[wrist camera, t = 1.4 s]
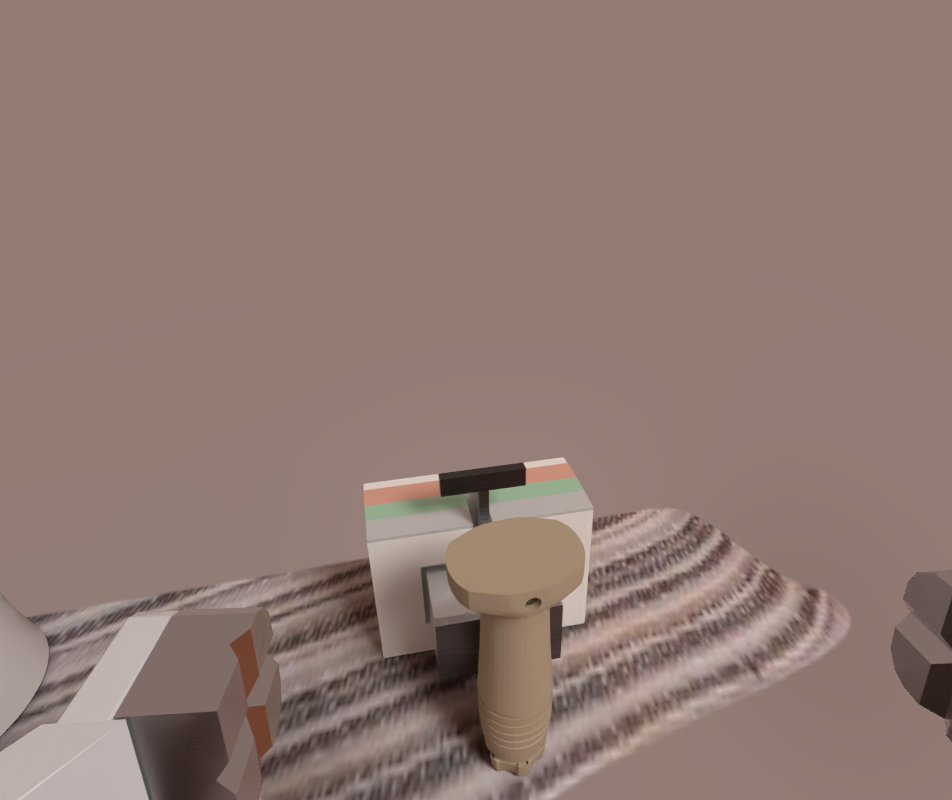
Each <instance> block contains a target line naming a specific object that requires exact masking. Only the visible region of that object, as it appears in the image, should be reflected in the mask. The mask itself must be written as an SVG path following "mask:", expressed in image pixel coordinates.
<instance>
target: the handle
mask: <svg viewBox="0 0 952 800" xmlns="http://www.w3.org/2000/svg"><path fill="white" fill-rule="evenodd" d="M445 560H446V573H447V579H448V583H449V587H450V589H451V591H452V593H453V595H454V597H455V598H456V599H457V601H458V602H459V603H461V604H462V605H463V606H464V607H466V608H467V609H469V610H472V611H476V612H481V616H480V646H479V663H478V681H477V685H478V686H477V687H478V708H479V715H480V720H481V726H482V730H483V734H484V738H485V743H486V746H487V749H488V750H489V751H490V753H491V754H490V757H491V762H492V765H493V767H494V768H495V769H496V770H498V771H501V770H506V771H511V772H513V773H515V774H517V776H524V775H527V774H528V773H529V772H530V768H531V766H532V764H533V763H534V762H535V761H536V760H538V759H540V758H541V757H542V756H543V753H544V748H545V743H546V740H545V738H546V735H547V731H548V726H549V721H550V715H551V708H552V688H553V681H552V662H551V643H550V608H551V607H553V606H554V605H556V604H557V603H559V602H560V601H561V600H563V599H564V598H565V597H567V596H568V595H569V594H570V593H572V592H573V591H574V590H575V589H576V588H577V587H578V586H579V585H580V584H581V583H582V580H583V576H584V569H585V549H584V546H583V544H582V542H581V540H580V538H579V537H578V536H577V534H576V533H575V532H574V531H573V530H572V529H571V528H570V527H569V526H567V525H565V524H564V523H562V522H560V521H558V520H555V519H544V518H533V517H516V518H509V519H504V520H499V521H494V522H490V523H486V524H482V525H479V526H477V527H475V528H473V529H471V530H469V531H468V532H466V533H464V534H462V535H461V536H459V537H458V538H456V539H454V540H453V541H451V542H450V543H449V545H448V547H447V550H446V559H445Z"/></svg>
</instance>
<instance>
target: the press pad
mask: <svg viewBox="0 0 952 800" xmlns="http://www.w3.org/2000/svg"><path fill="white" fill-rule="evenodd" d="M438 477H439V491H440V495H441V497H446V496H453V495H460V494H467V493H474V492H477V508H478V526H479V525H482V524H486V523H490V517H489V490H496V489H503V488H510V487H518V486H525V485H526V467H525V465H524V463H517V464H509V465H502V466H494V467H488V468H480V469H472V470H464V471H457V472H449V473H442V474H438ZM426 580H427V591H428V602H429V614H430V622H431V628H432V635H433V641H434V647H435V653H436V659H437V665H438V672H439V678H440V680H441V679H447V678H452V677H457V676H463V675H468V674H474V673H478V663H479V646H480V616H481V612H476V611H472V610H469V609H467V608H466V607H464V606H463V605H462V604H461V603H459V602H458V601H457V599H456V598H455V597H454V595H453V593H452V591H451V589H450V587H449V583H448V579H447V573H446V566H441V567H435V568H428V569H426ZM562 617H563V604H562V602H561V601H560V602H559V603H557V604H556V605H554V606H553V607H551V608H550V643H551V659H555V658H560V654H561V635H562Z"/></svg>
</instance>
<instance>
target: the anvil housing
mask: <svg viewBox="0 0 952 800" xmlns="http://www.w3.org/2000/svg"><path fill="white" fill-rule="evenodd" d="M524 465H525V467H526V485H525V486H518V487H510V488H503V489H496V490H489V517H490V522H494V521H499V520H504V519H509V518H516V517H533V518H544V519H555V520H558V521H560V522H562V523H564V524H565V525H567V526H569V527H570V528H571V529H572V530H573V531H574V532H575V533H576V534H577V536H578V537H579V538H580V540H581V542H582V544H583V546H584V549H585V569H584V576H583V580H582V583H581V584H580V585H579V586H578V587H577V588H576V589H575V590H574V591H573V592H572V593H570V594H569V595H568V596H567V597H565V598H564V599H563V600H561V602H562V604H563V617H562V627H565V626H570V625H576V624H582V623H584V621H585V609H586V596H587V583H588V570H589V558H590V545H591V532H592V519H593V506H592V504H591V502H590V501H589V499H588V497H587V495H586V493H585V492H584V490H583V488H582V487H581V485H580V483H579V481H578V479H577V478H576V476H575V474H574V472H573V471H572V469H571V467H570V465H569V464H568V463H566V461H565V459H564V457H562V458H555V459H548V460H540V461H533V462H525V463H524ZM364 503H365V521H366V537H367V547H368V554H369V561H370V568H371V574H372V581H373V588H374V595H375V602H376V609H377V616H378V623H379V630H380V637H381V643H382V650H383V657H384V658H389V657H394V656H400V655H406V654H411V653H417V652H423V651H428V650H434V649H435V647H434V641H433V635H432V628H431V622H430V614H429V602H428V591H427V580H426V569H428V568H435V567H441V566H446V560H445V559H446V550H447V547H448V545H449V543H450V542H451V541H453V540H454V539H456V538H458V537H459V536H461V535H462V534H464V533H466V532H468V531H469V530H471V529H473V528H475V527H477V526H478V508H477V492H474V493H467V494H460V495H453V496H446V497H441V495H440V491H439V477H438V474H435V475H428V476H420V477H412V478H405V479H397V480H390V481H382V482H375V483H367V484H364Z"/></svg>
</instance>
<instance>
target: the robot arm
mask: <svg viewBox="0 0 952 800" xmlns="http://www.w3.org/2000/svg"><path fill="white" fill-rule="evenodd" d="M903 600H904V602H905V603H906V605H907V607H908V609H909V610H910V613H909V614H908V615H907V616H906V617H905V618H904V619H903V620H902V621H901V622H900V623H899V624H898V625H897V626H896V627H895V631H894V635H893V639H892V644H891V653H892V658H893V662H894V667H895V671H896V673H897V675H898V677H899V678H900V680H901V682H902V684H903V686H904V687H905V689H906V690H907V691H908V692H909V693H910V695H911V696H912V697H913V698H914V699H915V700H916V702H918V704H920V705H921V706H923V707H924V708H926V709H928V710H930V711H931V712H933V713H935V714H937V715H938V716H940V717H942V718H944V719H945V726H946V736H947V737H948V738H949V739H950V740H951V741H952V570H945V571H929V572H917V573H916V574H915V575H914V576H913V577H912V578H911V579H910V580H909V581H908V583H907V587H906V590H905V594H904V597H903ZM272 636H273V632H272V627H271V622H270V617H269V613H268V612H267V611H266V610H265V609H264V608H263V607H257V608H225V609H194V610H180V611H152V612H138V613H136V614H135V615H133V616H131V617H129V618H128V619H127V620H126V621H125V623H124V624H123V626H122V627H121V629H120V630H119V632H118V633H117V635H116V636H115V638H114V639H113V641H112V642H111V644H110V645H109V646H108V648H107V649H106V651H105V652H104V654H103V655H102V657H101V658H100V660H99V661H98V663H97V664H96V666H95V667H94V669H93V670H92V671H91V673H90V674H89V676H88V677H87V679H86V680H85V682H84V683H83V685H82V686H81V688H80V689H79V691H78V692H77V694H76V695H75V696H74V698H73V699H72V701H71V702H70V704H69V705H68V707H67V708H66V710H65V711H64V713H63V714H62V716H61V717H60V719H59V720H58V721H57V723H55V724H41V725H40V726H38V727H37V728H35V729H34V730H32V731H31V732H29V733H28V734H26V735H25V736H23V737H22V738H21V739H19V740H18V741H16V742H15V743H13V744H12V745H10V746H9V747H7V748H6V749H4V750H3V751H1V752H0V800H257V799H258V796H259V792H260V789H261V785H262V776H261V771H260V766H259V759H260V758H261V757H262V756H263V755H264V754H265V753H266V752H267V751H268V750H269V749H270V748H271V747H272V746H273V742H274V738H275V734H276V731H277V727H278V721H279V712H280V703H281V682H280V673H279V667H278V663H277V662H276V661H275V660H274V659H273V658H272V657H270V656H269V655H268V654H267V651H268V648H269V645H270V642H271V639H272ZM48 659H49V646H48V642H47V639H46V637H45V635H44V633H43V632H42V631H41V629H40V628H39V627H37V626H36V625H35V624H34V623H32V622H31V621H30V620H28V619H27V618H26V617H25V616H24V615H22V614H21V613H20V612H19V611H18V610H17V609H16V608H15V607H14V606H13V605H12V604H11V603H10V602H9V601H8V600H7V599H6V598H5V597H4V596H3V595H2V594H1V593H0V736H1V735H2V734H3V733H4V732H5V731H6V730H7V729H8V728H9V727H10V726H11V725H12V724H13V723H14V721H15V720H16V719H17V718H18V717H19V716H20V714H21V713H22V712H23V711H24V709H25V708H26V707H27V705H28V704H29V702H30V701H31V699H32V698H33V696H34V695H35V693H36V691H37V690H38V688H39V686H40V684H41V682H42V680H43V677H44V675H45V672H46V669H47V665H48Z"/></svg>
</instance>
